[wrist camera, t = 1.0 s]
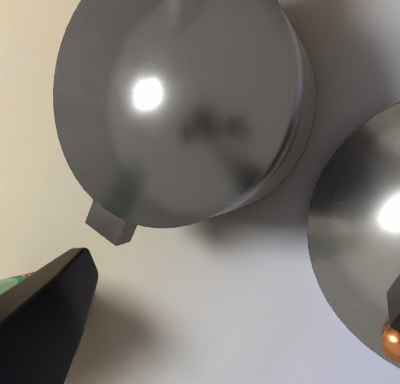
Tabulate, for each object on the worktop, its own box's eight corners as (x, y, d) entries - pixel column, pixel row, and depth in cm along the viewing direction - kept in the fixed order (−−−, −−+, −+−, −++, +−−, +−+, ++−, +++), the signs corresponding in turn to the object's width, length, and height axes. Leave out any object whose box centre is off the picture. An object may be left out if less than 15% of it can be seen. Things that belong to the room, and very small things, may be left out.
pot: (381, 7, 17) (385, -66, 12) (236, 273, 21) (191, 310, 16) (177, -55, 22) (113, -127, 16) (92, 174, 26) (20, 177, 21)
